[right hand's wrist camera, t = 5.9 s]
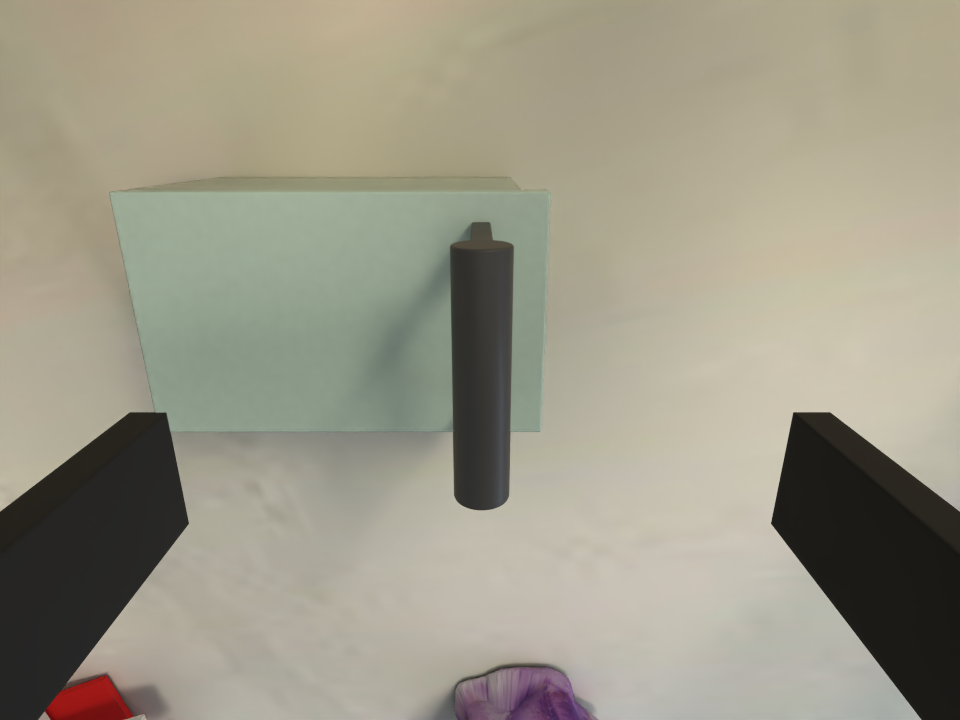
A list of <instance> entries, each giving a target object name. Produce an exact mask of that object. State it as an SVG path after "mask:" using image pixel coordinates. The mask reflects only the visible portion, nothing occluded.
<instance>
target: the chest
mask: <svg viewBox="0 0 960 720" xmlns="http://www.w3.org/2000/svg"><path fill="white" fill-rule="evenodd" d="M129 190H522V189H521V188H520V187H519V186H518V185H517V184H516V183H515V182H514V181H513V180H512V178H510V177H221V178H213V179H206V180H198V181H190V182H182V183H174V184H167V185H159V186H151V187H143V188H135V189H129Z"/></svg>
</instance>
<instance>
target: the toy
mask: <svg viewBox="0 0 960 720" xmlns="http://www.w3.org/2000/svg"><path fill="white" fill-rule="evenodd" d="M38 720H147V719H146V717H145V715H144V714H141V715H138V716H135V717H134V716H133V715H132V713H131V712H130V710H129V709H128V707H127V706H126V704H125V703H124V701H123V700H122V698H121V697H120V695H119V694H118V692H117V691H116V689H115V688H114V686H113V685H112V683H111V682H110V680H109V679H108V677H107V676H106V675H105V676H102V677H99V678H97V679H94V680H91V681H88V682H85V683H82V684H79V685H77V686H74V687H71V688H68V689H65V690H62V691H60V692H59V693H58V695H57V696H56V697H55V699H54V700H53V701H52V702H51V704H50V705H49V706H48V708H47V709H46V710H45V712H44V713H43V714H42V716H41V717H40V718H39V719H38Z"/></svg>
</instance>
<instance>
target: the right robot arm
mask: <svg viewBox="0 0 960 720" xmlns="http://www.w3.org/2000/svg"><path fill="white" fill-rule="evenodd" d="M188 524H189V522H188V517H187V512H186V507H185V502H184V497H183V492H182V487H181V482H180V477H179V472H178V467H177V462H176V457H175V452H174V447H173V442H172V437H171V432H170V427H169V422H168V417H167V412H130V413H129V414H127V415H126V416H125V417H123V418H122V419H121V420H119V421H118V422H117V423H116V424H114V425H113V426H112V427H110V428H109V429H108V430H106V431H105V432H104V433H102V434H101V435H100V436H99V437H97V438H96V439H95V440H93V441H92V442H91V443H89V444H88V445H87V446H86V447H84V448H83V449H82V450H80V451H79V452H78V453H76V454H75V455H74V456H72V457H71V458H70V459H69V460H67V461H66V462H65V463H63V464H62V465H61V466H59V467H58V468H57V469H55V470H54V471H53V472H52V473H50V474H49V475H48V476H46V477H45V478H44V479H42V480H41V481H40V482H38V483H37V484H36V485H35V486H33V487H32V488H31V489H29V490H28V491H27V492H25V493H24V494H23V495H21V496H20V497H19V498H18V499H16V500H15V501H14V502H12V503H11V504H10V505H8V506H7V507H6V508H5V509H3V510H2V511H1V512H0V720H38V719H39V718H40V717H41V716H42V714H43V713H44V712H45V710H46V709H47V708H48V706H49V705H50V704H51V702H52V701H53V700H54V699H55V697H56V696H57V695H58V693H59V692H60V691H61V689H62V688H63V687H64V686H65V684H66V683H67V682H68V680H69V679H70V678H71V676H72V675H73V674H74V673H75V671H76V670H77V669H78V667H79V666H80V665H81V663H82V662H83V661H84V660H85V658H86V657H87V656H88V654H89V653H90V652H91V650H92V649H93V648H94V647H95V645H96V644H97V643H98V641H99V640H100V639H101V637H102V636H103V635H104V633H105V632H106V631H107V630H108V628H109V627H110V626H111V624H112V623H113V622H114V620H115V619H116V618H117V617H118V615H119V614H120V613H121V611H122V610H123V609H124V607H125V606H126V605H127V604H128V602H129V601H130V600H131V598H132V597H133V596H134V594H135V593H136V592H137V591H138V589H139V588H140V587H141V585H142V584H143V583H144V581H145V580H146V579H147V577H148V576H149V575H150V574H151V572H152V571H153V570H154V568H155V567H156V566H157V564H158V563H159V562H160V561H161V559H162V558H163V557H164V555H165V554H166V553H167V551H168V550H169V549H170V548H171V546H172V545H173V544H174V542H175V541H176V540H177V538H178V537H179V536H180V535H181V533H182V532H183V531H184V529H185V528H186V527H187V525H188ZM771 524H772V525H773V527H774V528H775V529H776V531H777V532H778V533H779V535H780V536H781V537H782V538H783V540H784V541H785V542H786V544H787V545H788V546H789V548H790V549H791V550H792V551H793V553H794V554H795V555H796V557H797V558H798V559H799V561H800V562H801V563H802V564H803V566H804V567H805V568H806V570H807V571H808V572H809V574H810V575H811V576H812V577H813V579H814V580H815V581H816V583H817V584H818V585H819V587H820V588H821V589H822V591H823V592H824V593H825V594H826V596H827V597H828V598H829V600H830V601H831V602H832V604H833V605H834V606H835V607H836V609H837V610H838V611H839V613H840V614H841V615H842V617H843V618H844V619H845V620H846V622H847V623H848V624H849V626H850V627H851V628H852V630H853V631H854V632H855V633H856V635H857V636H858V637H859V639H860V640H861V641H862V643H863V644H864V645H865V647H866V648H867V649H868V650H869V652H870V653H871V654H872V656H873V657H874V658H875V660H876V661H877V662H878V663H879V665H880V666H881V667H882V669H883V670H884V671H885V673H886V674H887V675H888V676H889V678H890V679H891V680H892V682H893V683H894V684H895V686H896V687H897V688H898V689H899V691H900V692H901V693H902V695H903V696H904V697H905V699H906V700H907V701H908V702H909V704H910V705H911V706H912V708H913V709H914V710H915V712H916V713H917V714H918V716H919V717H920V718H921V719H922V720H960V512H959V511H958V510H957V509H955V508H954V507H953V506H952V505H950V504H949V503H948V502H946V501H945V500H944V499H942V498H941V497H940V496H939V495H937V494H936V493H935V492H933V491H932V490H931V489H929V488H928V487H927V486H925V485H924V484H923V483H922V482H920V481H919V480H918V479H916V478H915V477H914V476H912V475H911V474H910V473H908V472H907V471H906V470H905V469H903V468H902V467H901V466H899V465H898V464H897V463H895V462H894V461H893V460H891V459H890V458H889V457H888V456H886V455H885V454H884V453H882V452H881V451H880V450H878V449H877V448H876V447H874V446H873V445H872V444H871V443H869V442H868V441H867V440H865V439H864V438H863V437H861V436H860V435H859V434H858V433H856V432H855V431H854V430H852V429H851V428H850V427H848V426H847V425H846V424H844V423H843V422H842V421H841V420H839V419H838V418H837V417H835V416H834V415H833V414H831V413H830V412H793V417H792V422H791V427H790V432H789V437H788V442H787V447H786V452H785V457H784V462H783V467H782V472H781V477H780V482H779V487H778V492H777V497H776V502H775V507H774V512H773V517H772V522H771Z"/></svg>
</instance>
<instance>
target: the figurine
mask: <svg viewBox="0 0 960 720" xmlns="http://www.w3.org/2000/svg"><path fill="white" fill-rule="evenodd" d="M455 695H456V696H455V697H456V698H455V706H454V707H455V710H454V711H455V713H456V716H457V719H458V720H598V719H597V718H596V717H595V716H594V715H592V714H591V713H590V712H589V711H588V710H586V709H585V708H583V707H582V706H581V705H579V704H578V703H577V702H576V701H575V700H574V697H573V691H572V687H571V683H570V681H569V679H568V678H567V677H566V676H565V675H564V674H562V673H560V672H558V671H557V670H555V669H553V668H549V667H542V668H537V667H513V668H505V669H503V668H501V669H499V670H498V671H495V672H492V673H490V674H488V675H486V676H485V677H480V678H474V679H469V680H467V681H464V682H461V683H459V684H458V686H457V688H456V690H455Z"/></svg>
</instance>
